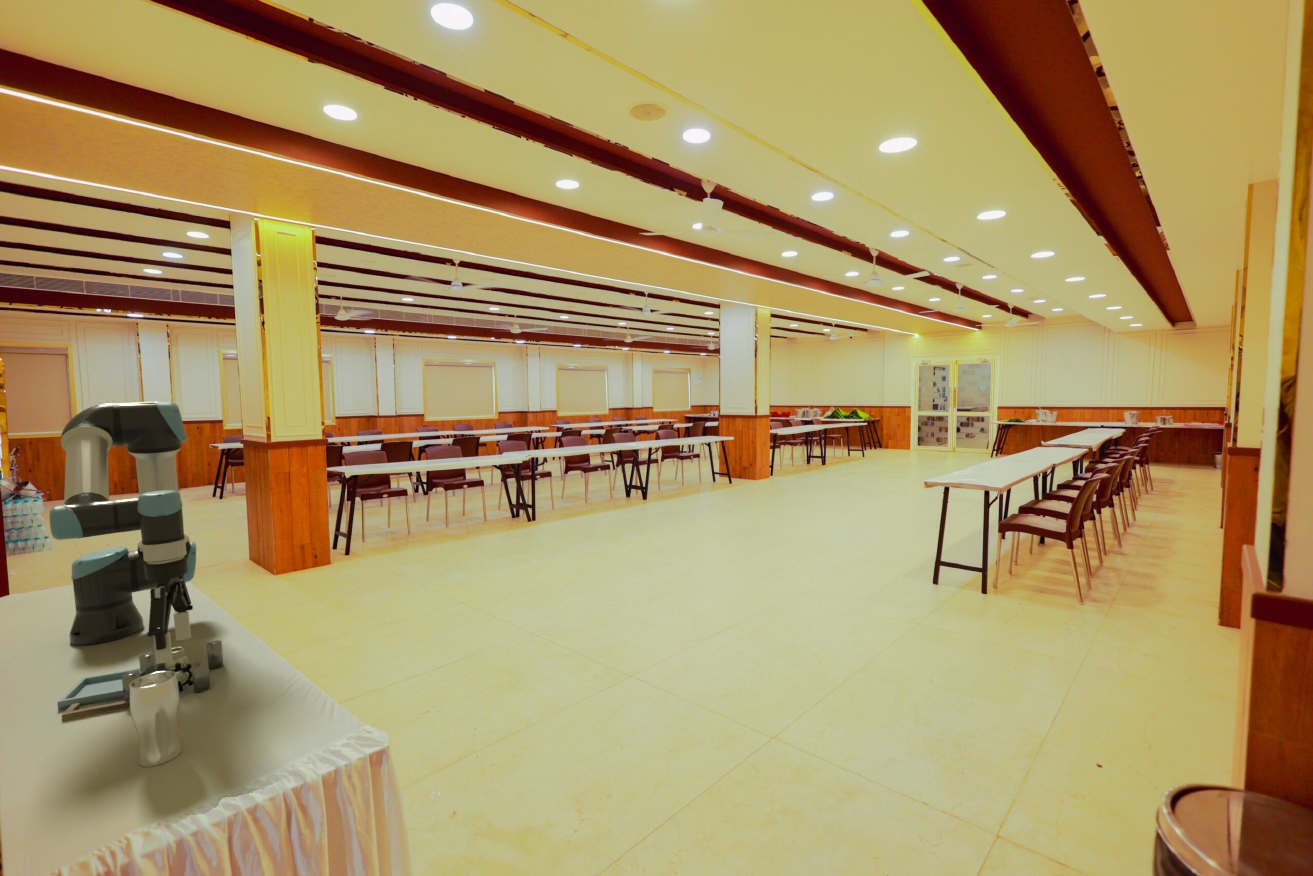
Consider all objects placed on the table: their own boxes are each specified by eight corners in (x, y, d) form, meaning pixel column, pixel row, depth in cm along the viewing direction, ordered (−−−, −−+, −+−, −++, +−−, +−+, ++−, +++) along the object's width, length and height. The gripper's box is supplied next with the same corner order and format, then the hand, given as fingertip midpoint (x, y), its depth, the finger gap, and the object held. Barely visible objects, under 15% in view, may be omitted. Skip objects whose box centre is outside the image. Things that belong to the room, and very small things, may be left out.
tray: (83, 685, 137) (82, 677, 137) (146, 674, 142) (146, 667, 142) (58, 710, 127) (57, 702, 127) (127, 697, 132) (126, 689, 131)
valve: (159, 678, 140) (161, 697, 131) (156, 651, 140) (158, 669, 131) (194, 669, 145) (199, 687, 136) (191, 642, 144) (196, 659, 135)
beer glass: (155, 746, 113) (147, 670, 112) (193, 744, 114) (186, 668, 112) (125, 770, 106) (117, 689, 105) (167, 767, 107) (159, 687, 105)
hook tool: (72, 709, 127) (72, 704, 127) (155, 694, 133) (154, 689, 132) (62, 720, 123) (61, 715, 123) (147, 704, 128) (147, 699, 128)
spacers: (153, 667, 146) (150, 643, 145) (229, 654, 152) (227, 631, 151) (120, 707, 127) (117, 680, 127) (208, 690, 134) (205, 665, 133)
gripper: (163, 548, 145) (171, 633, 146) (122, 577, 122) (132, 677, 124) (201, 544, 148) (209, 627, 149) (167, 571, 125) (177, 669, 127)
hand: (174, 650), depth 136 cm, fingers open, 13 cm apart
